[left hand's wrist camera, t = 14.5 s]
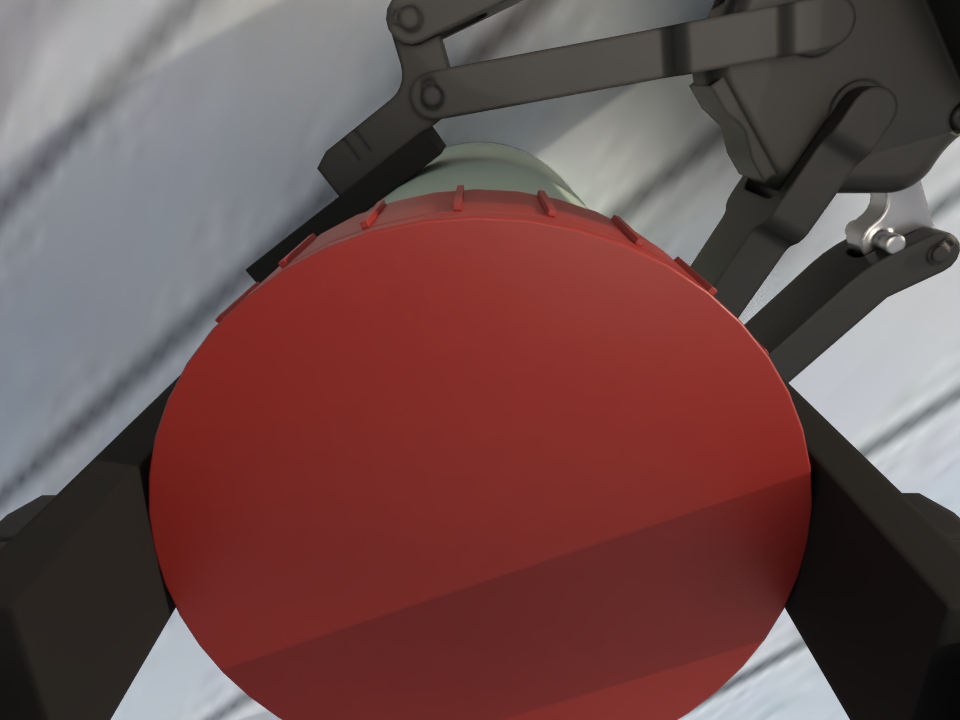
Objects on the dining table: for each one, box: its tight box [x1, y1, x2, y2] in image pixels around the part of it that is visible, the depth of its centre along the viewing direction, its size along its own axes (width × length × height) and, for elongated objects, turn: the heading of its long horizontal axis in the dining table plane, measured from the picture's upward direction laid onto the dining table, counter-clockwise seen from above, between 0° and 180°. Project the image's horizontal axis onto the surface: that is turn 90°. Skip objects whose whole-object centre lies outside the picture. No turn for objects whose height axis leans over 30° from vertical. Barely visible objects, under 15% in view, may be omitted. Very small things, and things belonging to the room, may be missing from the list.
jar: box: [371, 142, 588, 209], centre depth 19 cm, size 9×9×18 cm
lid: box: [149, 185, 812, 720], centre depth 11 cm, size 10×10×2 cm
